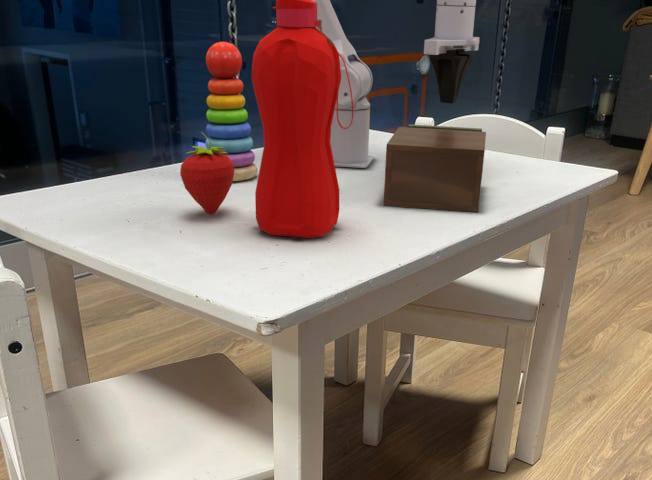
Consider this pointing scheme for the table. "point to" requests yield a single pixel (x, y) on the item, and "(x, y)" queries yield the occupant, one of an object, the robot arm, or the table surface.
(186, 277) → the table surface
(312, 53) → the water bottle
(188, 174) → the strawberry
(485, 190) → the table surface
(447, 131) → the cabinet
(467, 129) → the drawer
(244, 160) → the stacking toy
